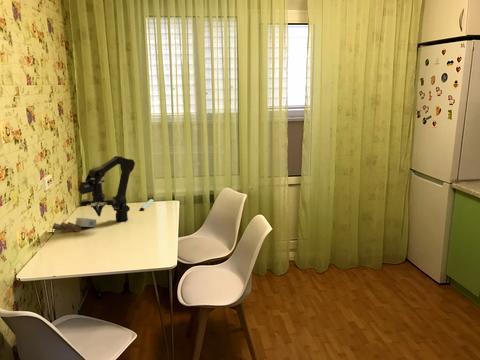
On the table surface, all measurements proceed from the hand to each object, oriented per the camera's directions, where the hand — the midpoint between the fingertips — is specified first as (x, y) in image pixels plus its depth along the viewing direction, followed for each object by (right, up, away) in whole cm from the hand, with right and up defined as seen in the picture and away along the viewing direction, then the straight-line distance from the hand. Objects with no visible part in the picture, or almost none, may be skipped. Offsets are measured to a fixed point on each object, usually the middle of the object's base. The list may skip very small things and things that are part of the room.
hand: (99, 216), depth 232 cm
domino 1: (-11, -7, -1) cm, 13 cm away
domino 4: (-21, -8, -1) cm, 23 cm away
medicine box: (-5, -4, +2) cm, 7 cm away
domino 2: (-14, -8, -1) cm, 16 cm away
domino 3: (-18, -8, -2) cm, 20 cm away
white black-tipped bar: (+15, +2, +47) cm, 50 cm away
